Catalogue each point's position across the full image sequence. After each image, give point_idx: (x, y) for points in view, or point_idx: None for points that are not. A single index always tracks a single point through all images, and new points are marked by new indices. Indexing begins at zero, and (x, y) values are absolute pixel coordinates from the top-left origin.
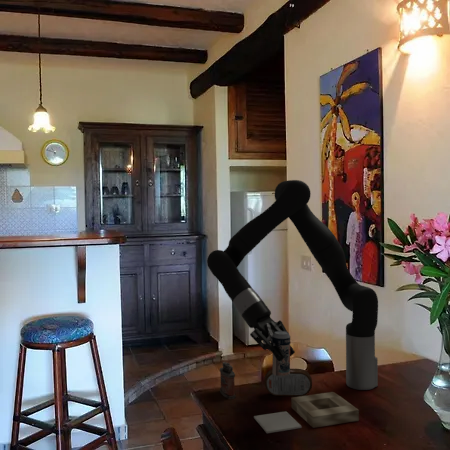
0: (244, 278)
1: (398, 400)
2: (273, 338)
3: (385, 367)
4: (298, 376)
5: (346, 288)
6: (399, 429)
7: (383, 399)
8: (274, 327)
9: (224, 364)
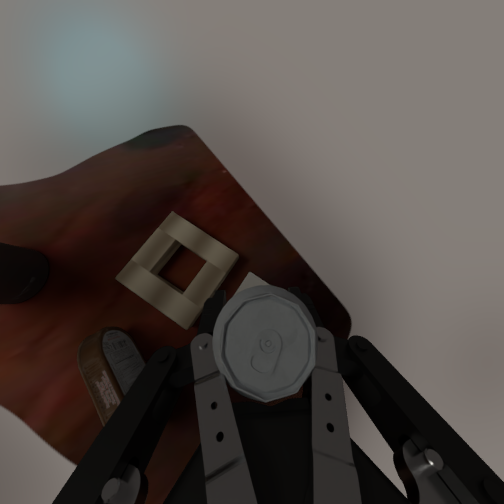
0: None
1: (69, 199)
2: None
3: None
4: (110, 357)
5: None
6: (174, 169)
7: (76, 218)
8: (245, 455)
9: None
